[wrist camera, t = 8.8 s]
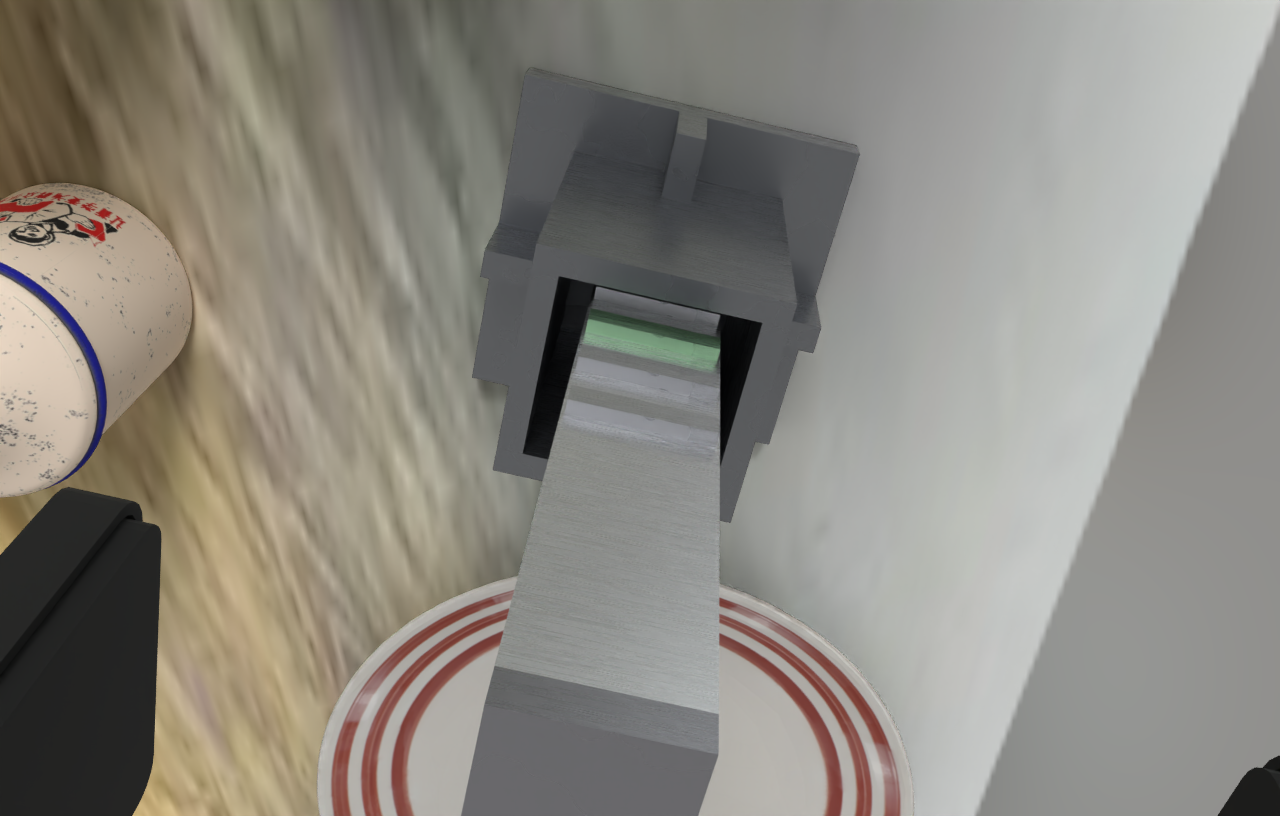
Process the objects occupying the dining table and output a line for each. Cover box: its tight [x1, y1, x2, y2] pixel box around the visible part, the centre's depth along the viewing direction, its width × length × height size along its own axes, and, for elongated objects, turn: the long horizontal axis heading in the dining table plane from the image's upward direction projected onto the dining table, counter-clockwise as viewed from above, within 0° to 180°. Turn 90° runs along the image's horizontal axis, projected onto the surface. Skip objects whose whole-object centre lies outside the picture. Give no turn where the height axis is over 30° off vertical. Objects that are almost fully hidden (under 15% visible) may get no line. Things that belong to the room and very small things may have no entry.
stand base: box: [472, 68, 859, 523], centre depth 41 cm, size 12×12×11 cm
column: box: [461, 284, 720, 816], centre depth 30 cm, size 5×4×21 cm
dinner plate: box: [317, 576, 914, 816], centre depth 57 cm, size 27×27×3 cm
